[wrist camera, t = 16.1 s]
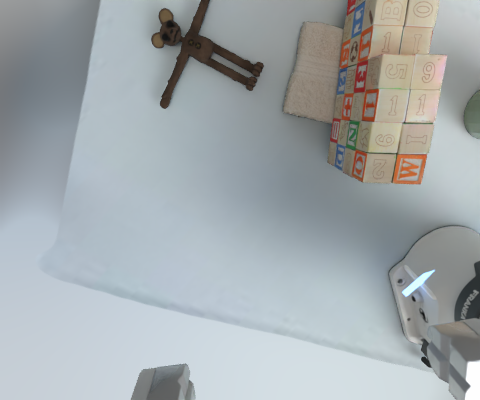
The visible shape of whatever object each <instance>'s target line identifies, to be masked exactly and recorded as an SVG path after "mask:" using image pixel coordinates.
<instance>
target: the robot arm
mask: <svg viewBox="0 0 480 400" xmlns="http://www.w3.org/2000/svg"><path fill="white" fill-rule="evenodd" d="M389 277H390V280H391V284H392V288H393V292H394V296H395V300H396V304H397V308H398V311H399V315H400V319H401V323H402V327H403V331H404V334H405V337H406V338H407V339H408V340H409V341H410V342H413V343H416V344H420V345H422V348H421V351H422V352H423V353H424V355H425V356H426V357H427V358H428V359H427V358H426V357H422V358H421V361H422V362H423V363H424V364H426V365H427V366H428V367H430V368H432V369H433V370H434V372H435V373H436V375H437V376H438V377H439V378H440V379H442V380H443V381H445V382H447V383H449V392H450V393H451V394H452V395H453V397H454V398H455V399H456V400H480V235H479V234H478V233H477V232H475V231H474V230H472V229H469V228H466V227H461V226H449V227H443V228H440V229H437V230H434V231H432V232H430V233H428V234H427V235H425V236H424V237H422V238H421V239H420V240H419V241H418V242H416V244H415V245H414V246H413V247H412V248H411V250H410V251H409V253H408V254H407V256H406V257H405V258H404V259H403V260H402V261H401V262H400V263H398V264H397V265H396V266H394V267H393V268H392V269H391V271H390V273H389ZM399 279H400V281H398V280H399ZM422 338H423V339H422ZM189 376H190V371H189V368H188V365H187V364H179V365H171V366H164V367H157V368H151V369H143V370H142V371H141V373H140V375H139V377H138V380H137V383H136V386H135V389H134V392H133V395H132V398H131V400H195V390H194V386H193V383H192V382H191V381H190V380H189Z"/></svg>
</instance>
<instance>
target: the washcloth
mask: <svg viewBox="0 0 480 400" xmlns="http://www.w3.org/2000/svg"><path fill="white" fill-rule="evenodd" d="M343 34H344V29H343V28H339V27H336V26H333V25H329V24H325V23H319V22H303V26H302V28H301V32H300V37H299V43H298V50H297V60H296V63H295V67H294V71H293V74H292V75H291V77H290V80H289V83H288V88H287V93H286V95H285V101H284V106H283V112H284V113H285V114H288V113H289V114H294V115H298V117H305V118H309V119H314V120H317V121H321V122H326V123H331V124H332V123H333V118H334V112H335V103H336V96H337V86H338V79H339V71H340V69H339V66H340V58H341V50H342V44H343Z"/></svg>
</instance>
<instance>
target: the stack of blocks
mask: <svg viewBox="0 0 480 400" xmlns="http://www.w3.org/2000/svg"><path fill="white" fill-rule="evenodd" d="M439 1H440V0H348V7H347V17H346V19H345V26H344V34H343V44H342V50H341V58H340V66H339V69H340V71H339V79H338V86H337V96H336V103H335V112H334V118H333V123H332V130H331V138H330V145H329V152H328V161H327V162H328V163H329V164H331V165H332V166H335V167H336V168H338V169H340V170H341V171H343V173H345V174H347V175H348V176H350V177H354V178H356V179H358V180H359V181H361V182H363V183H386V184H391V183H394V184H421V183H422V178H423V173H424V168H425V163H426V158H427V154H428V153H429V150H430V145H431V140H432V135H433V129H434V124H433V123H434V122H435V120H436V115H437V109H438V104H439V99H440V94H441V92H440V89H441V86H442V81H443V75H444V70H445V65H446V59H447V55H433V54H429V49H430V44H431V39H432V34H433V28H434V27H435V22H436V17H437V12H438V7H439Z"/></svg>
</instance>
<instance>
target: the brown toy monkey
mask: <svg viewBox="0 0 480 400" xmlns="http://www.w3.org/2000/svg"><path fill="white" fill-rule="evenodd" d="M209 1H210V0H201V2H200V4H199V7H198V9H197V12H196V14H195V16H194V17H193V21H192V24H191V27H190V29H189V31H188V32H187V33H186V35H185V37H182V36H181V30H180V27H179V26H178V24H177V23H175V22H174V21H173V14H172V12H171V11H170V10H168V9H166V8H163V9H162V10H161V11H160V12H159V20H160V22H161V24H162V26H161V29H160V32H158V33H155V34H153V36H152V39H151V41H152V44H153V45H154V46H155V47H156V48H163V46H164V44H167V45H169V46H174V45H176V44H177V43H178V42H180V41H181V42H182V46H181V52H180V54H179V55H178V56H177V62H176V65H175V68H174V70H173V73H172V75H171V77H170V79H169V80H168V85H167V87H166V89H165V91H164V93H163V95H162V99H161V101H160V106H161V107H162V108H164V109H166V108H167V107H168V106H169V103H170V100H171V96H172V93H173V90H174V88H175V85H176V83H177V81H178V79H179V77H180V75H181V73H182V71H183V69H184V66H185V64H186V62H187V60H188V58H189V55H190V56H192V57H194V58H195V59H197V60H198V61H200V62H201V63H204V64H206V65H208V66H210V67H212V68H214V69H216V70H217V71H219V72H221V73H223V74H224V75H227V76H229V77H230V78H232V79H233V80H235V81H238V82H240V83H242V84H244V85H245V86H246V88H247V89H248V90H249V91H252V90H253V87H254V86H255V83H256V82H257V79H256V78H255V77H252V76H251V77H250V78H248V77H245V76H243V75H241V74H239V73H238V72H236V71H234V70H232V69H230V68H228V67H226V66H224V65H223V64H221V63H219V62H217V61H215V60H213V59H211V55H212V53H213V52H215V53H217V54H218V55H220V56H222V57H224V58H226V59H227V60H229V61H231V62H233V63H235V64H237V65H238V66H240V67H242V68H244V69H246V70H247V71H249V72H251V73H252V74H253V75H254V76H256V77H259V76H260V73H261V72H262V69H263V67H264V64H263V63H261V62H257V63H256V64H251V63H250V61H248V60H244V59H242V58H240V57H239V56H237V55H235V54H234V53H231V52H229V51H228V50H226V49H224V48H222V47H220V46H219V45H217V44H215V43H213V42H212V41H211V40H210V39H208V38H206V37H203V36H199V35H198V33H199V30H200V28H201V25H202V22H203V19H204V16H205V13H206V10H207V7H208V4H209Z"/></svg>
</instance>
